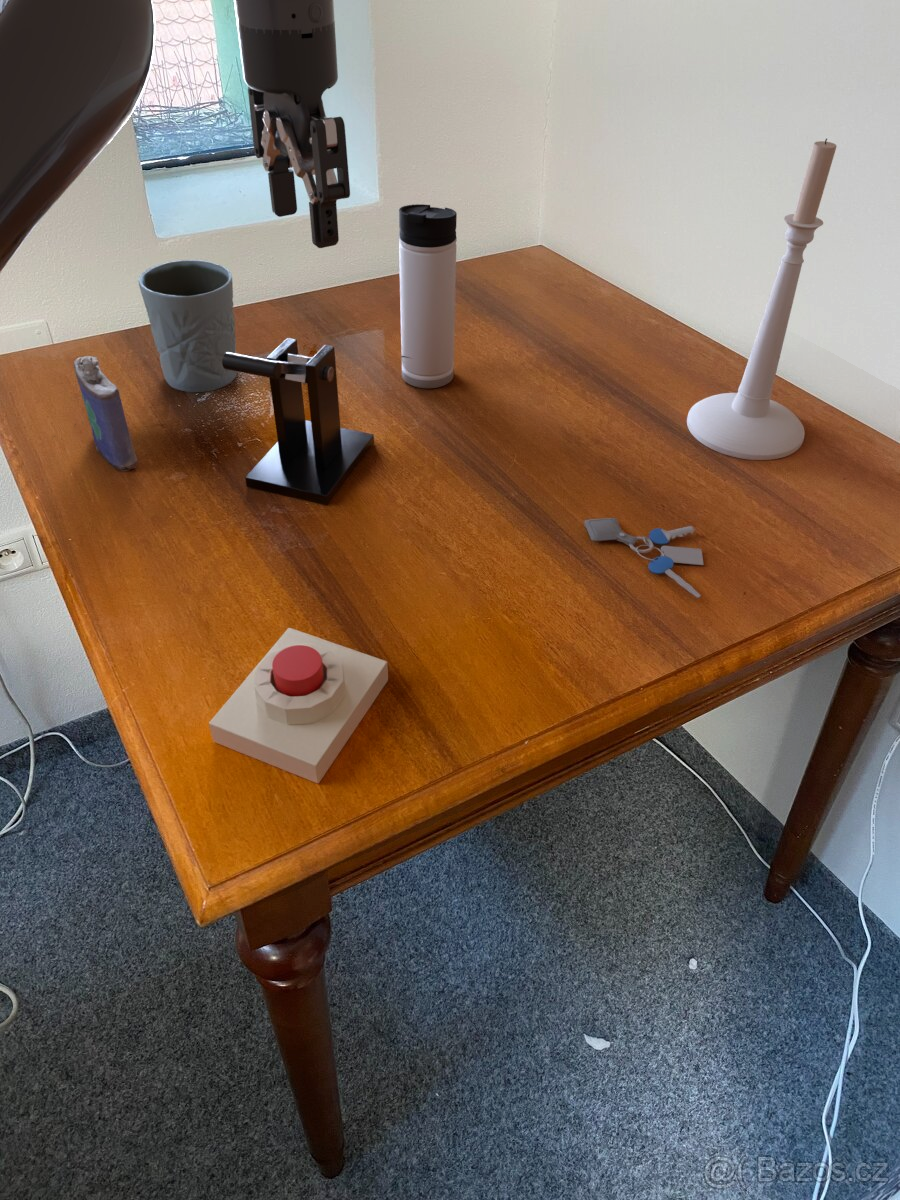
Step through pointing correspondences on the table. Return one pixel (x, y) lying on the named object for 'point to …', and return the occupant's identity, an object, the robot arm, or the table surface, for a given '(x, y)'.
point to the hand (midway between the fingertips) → (305, 229)
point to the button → (298, 670)
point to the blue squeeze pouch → (105, 414)
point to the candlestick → (767, 348)
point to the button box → (300, 709)
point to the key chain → (658, 565)
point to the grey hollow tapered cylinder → (191, 322)
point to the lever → (268, 366)
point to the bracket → (308, 434)
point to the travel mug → (427, 294)
